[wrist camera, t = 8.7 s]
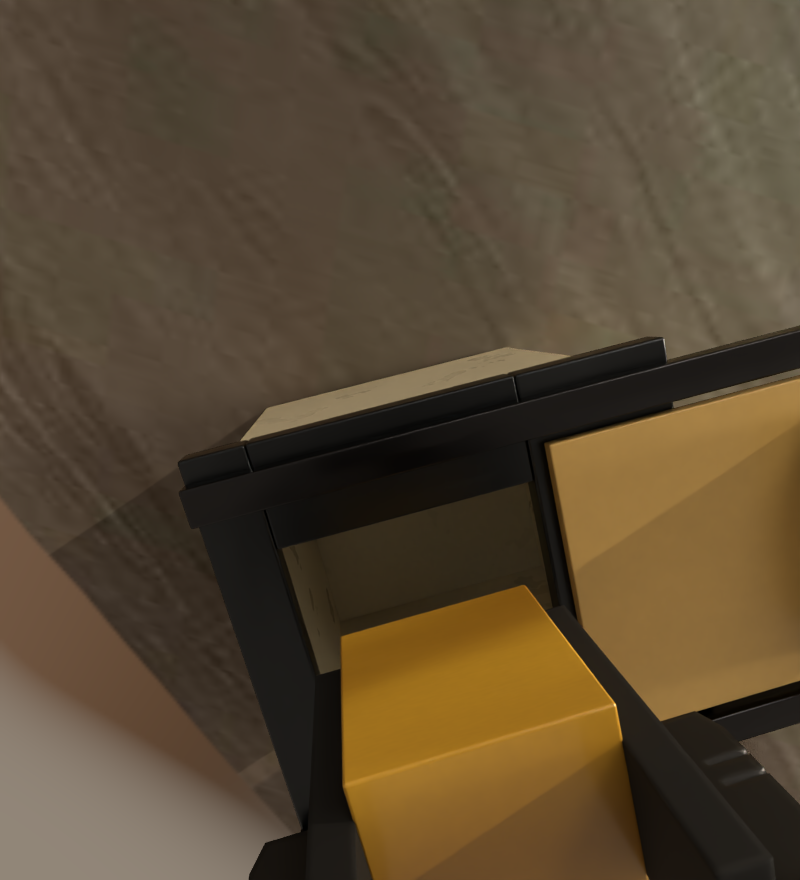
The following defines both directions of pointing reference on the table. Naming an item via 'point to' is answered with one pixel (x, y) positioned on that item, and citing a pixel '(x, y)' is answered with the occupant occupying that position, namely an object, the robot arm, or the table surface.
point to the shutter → (689, 545)
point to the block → (483, 749)
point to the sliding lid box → (425, 507)
